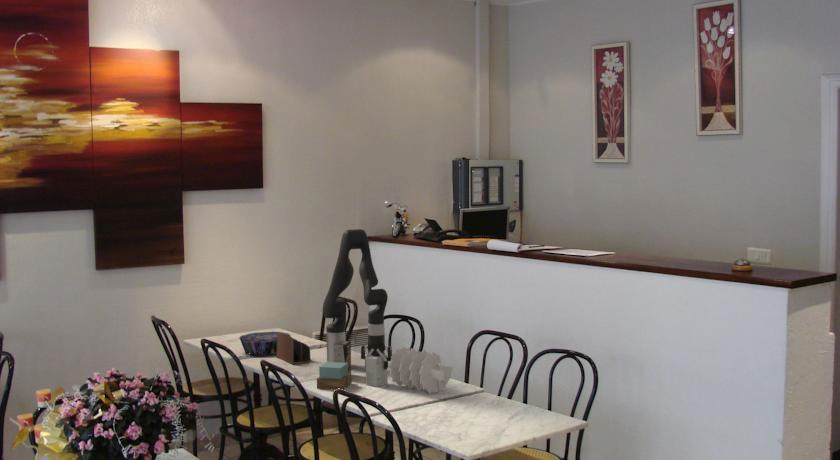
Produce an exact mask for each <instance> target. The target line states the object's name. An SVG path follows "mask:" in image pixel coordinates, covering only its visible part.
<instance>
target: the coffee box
mask: <svg viewBox="0 0 840 460" xmlns="http://www.w3.org/2000/svg"><path fill="white" fill-rule="evenodd" d="M333 362H339V363H348V373H351V374H352V341H351V340H345V341H338V342H336V343H335V344H333Z"/></svg>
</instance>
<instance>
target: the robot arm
mask: <svg viewBox="0 0 840 460" xmlns="http://www.w3.org/2000/svg"><path fill="white" fill-rule="evenodd" d="M351 250H360V252H361V260H360V264H359V268H358V270H359V271H358V272H359V276H360V279H361V282H362V286H363V288H362V289H363V301H364V302H365V304H366V305H367V306H376V307H375V308H374V309H372V310H370V311H368V313H367V317H368V318H367V321H368V323H367V345H365V344H363V345H361V347H360V349H361V350H360V359H361V360H364V366H365V368H366V357H367V356H368V357H369V356H371V355H373V356H375V355H376V356H381V357H382V358H383V359H384V370H386V369H387V370H388V369H389V361H392V359H391V356H392V355H393V348H392V346H391V345H389V346H386V341H385V334H386V333H385V311H386V307H387V303H388V293H387V291H386V290H385V289H384V288H376V289H375V287H376V286H378V284H379V278H378V276H377V273H376V270H375V268H374V263H373V259H372V254H371V253H372V252H371V248H370V243H369V238H368V235H367V233H366V231H365V230H364V229H362V228H357V229H356V228H355V229H352V228H351V229H346V230H344V231H343V233H342V236H341V240H340V245H339V250H338V251H339V252H338V256H337V260H336V264H335V266H334V270H333V273H332V277H331V282H330V285H329V289H328V291H327V294H326V296H325V298H324V301H323V303H322V315H323V317H324V318H326V319H334V321H332V322H331V323H329V324H327V326H326V362H333V344H335V343H336V342H338V341H346V326H347V304H346V301H345V299H344V298H339V296H341V294H342V293H343V292H344V291H346V289H348V287H349V286H350V285H351V282H352V279H353V276H354V271H355V269H354V266H353V264H352V261H351V259H350V257H349V256H350V252H351ZM372 288H374V289H372ZM366 351H368V353H367V355H366ZM385 351H386V352H387V354H386V352H385ZM386 355H387V356H386Z"/></svg>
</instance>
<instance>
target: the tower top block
mask: <svg viewBox="0 0 840 460" xmlns="http://www.w3.org/2000/svg"><path fill="white" fill-rule="evenodd" d="M318 368H319V369H318V375H319V376H318V377H319V378H327V379H342V378H343V377H344V376H346V375H347V374H348V363H339V362H327V361H326V362H324V363H323V364H321V365H320V366H319V367H318Z"/></svg>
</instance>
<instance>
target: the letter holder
mask: <svg viewBox="0 0 840 460" xmlns="http://www.w3.org/2000/svg"><path fill="white" fill-rule="evenodd" d="M285 333H286V332H285ZM285 333H277V354H276V358H277V359H280V360H282V361H284V362H285V363H288V364H290V365H293V366H295V365H301V364H302V365H303V364H307V363H311V348H310V346H309V345H308V344H306V343H304V342H302V341H299V340H298V339H296V338H293V337H292V336H289V335H287V334H285Z"/></svg>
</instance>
